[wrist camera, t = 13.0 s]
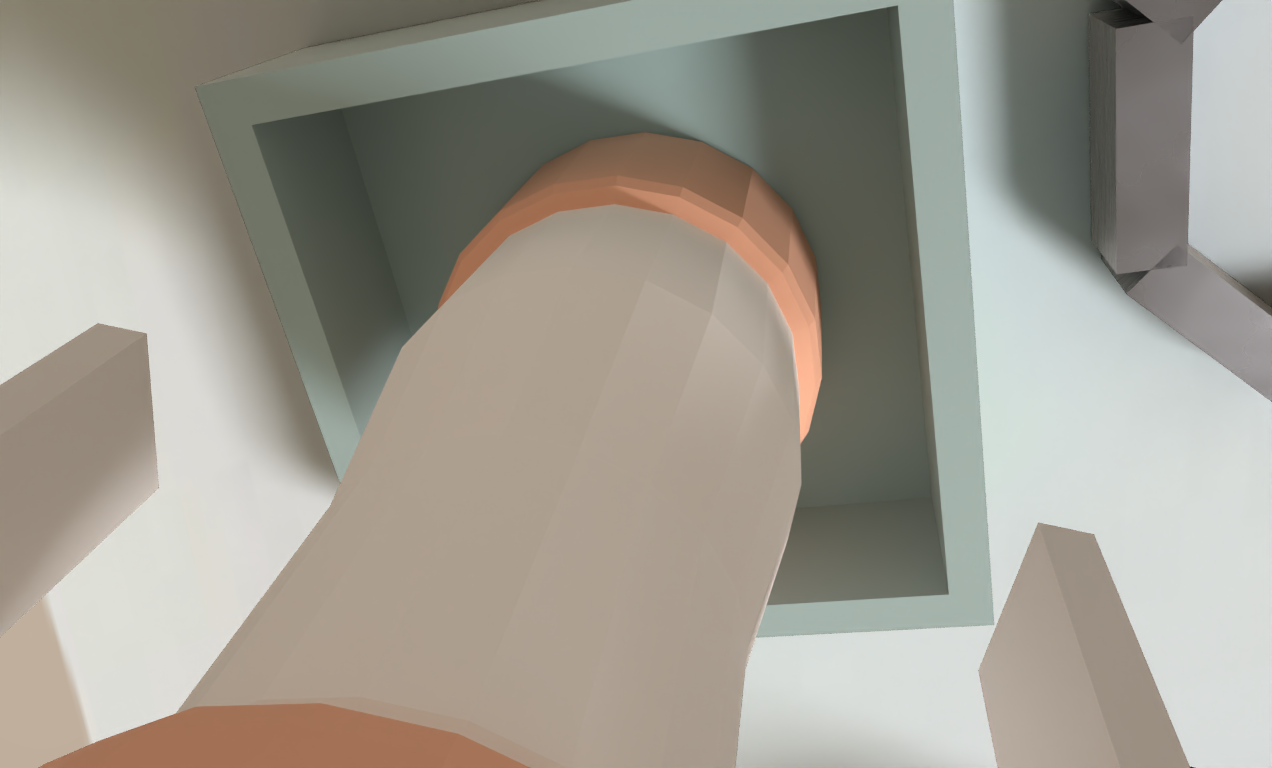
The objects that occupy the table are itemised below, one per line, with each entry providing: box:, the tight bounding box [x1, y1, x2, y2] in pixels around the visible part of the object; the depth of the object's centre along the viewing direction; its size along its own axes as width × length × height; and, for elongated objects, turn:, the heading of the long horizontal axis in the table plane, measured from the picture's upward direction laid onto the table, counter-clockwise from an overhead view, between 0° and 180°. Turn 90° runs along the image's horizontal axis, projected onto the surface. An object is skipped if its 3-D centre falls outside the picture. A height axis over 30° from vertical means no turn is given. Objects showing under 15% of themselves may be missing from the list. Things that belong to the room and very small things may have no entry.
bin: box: [195, 0, 994, 637], centre depth 21 cm, size 13×13×4 cm
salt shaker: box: [39, 132, 822, 768], centre depth 14 cm, size 7×7×19 cm
